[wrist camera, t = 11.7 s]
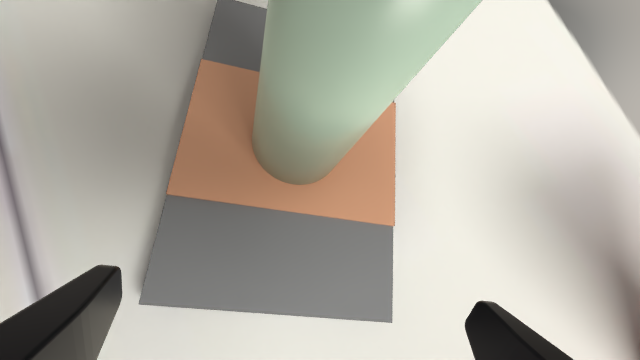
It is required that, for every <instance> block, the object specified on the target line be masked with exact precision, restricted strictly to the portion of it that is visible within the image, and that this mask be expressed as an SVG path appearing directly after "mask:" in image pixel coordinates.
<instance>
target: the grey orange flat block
mask: <svg viewBox="0 0 640 360" xmlns="http://www.w3.org/2000/svg"><path fill="white" fill-rule="evenodd" d="M266 15H267V9H264V8H261V7H257V6H253V5H250V4H246V3H242V2H238V1H235V0H217V4H216V8H215V12H214V16H213V20H212V23H211V27H210V31H209V35H208V39H207V43H206V46H205V50H204V54H203V58H202V59H201V62H200V66H199V70H198V73H197V77H196V81H195V85H194V89H193V92H192V96H191V100H190V104H189V108H188V112H187V115H186V119H185V123H184V127H183V131H182V135H181V138H180V142H179V146H178V150H177V154H176V158H175V161H174V165H173V169H172V173H171V177H170V180H169V184H168V188H167V192H166V194H167V196H166V200H165V204H164V208H163V212H162V216H161V219H160V223H159V227H158V231H157V235H156V239H155V243H154V246H153V250H152V254H151V258H150V262H149V266H148V269H147V273H146V277H145V281H144V285H143V289H142V293H141V296H140V300H139V304H141V305H155V306H168V307H182V308H196V309H210V310H223V311H237V312H251V313H265V314H278V315H292V316H306V317H320V318H333V319H347V320H361V321H374V322H388V323H392V290H393V226H395V109H396V103H394V101H393V102H392V103H391V104H390V105H389V106H388V107H387V108H386V110H385V111H384V112H383V113H382V114H381V115H380V116H379V117H378V119H377V120H376V121H375V122H374V123H373V124H372V125H371V127H370V128H369V129H368V130H367V131H366V132H365V133H364V134H363V136H362V137H361V138H360V139H359V140H358V141H357V142H356V143H355V145H354V146H353V147H352V148H351V149H350V150H349V151H348V153H347V154H346V155H345V156H344V157H343V158H342V159H341V160H340V162H339V163H338V164H337V165H336V166H335V167H334V168H333V169H332V171H331V172H330V173H329V174H328V175H327V176H325V177H324V178H322V179H321V180H319V181H317V182H314V183H310V184H305V185H295V184H289V183H285V182H282V181H280V180H278V179H276V178H274V177H273V176H271V175H270V174H269V173H267V172H266V171H265V170H264V169H263V168H262V166H261V165H260V164H259V162H258V160H257V159H256V157H255V154H254V151H253V147H252V132H253V123H254V115H255V107H256V98H257V90H258V82H259V73H260V65H261V57H262V48H263V40H264V32H265V23H266Z"/></svg>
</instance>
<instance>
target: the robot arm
mask: <svg viewBox="0 0 640 360" xmlns="http://www.w3.org/2000/svg"><path fill="white" fill-rule="evenodd" d="M121 298H122V280H121V270H120V268H119V267H117V266H109V265H98V266H95V267H94V268H92V269H90V270H89V271H87V272H85V273H84V274H82V275H80V276H79V277H77V278H75V279H73V280H72V281H70V282H68V283H67V284H65V285H63V286H62V287H60V288H58V289H57V290H55V291H53V292H52V293H50V294H48V295H47V296H45V297H43V298H42V299H40V300H38V301H37V302H35V303H33V304H32V305H30V306H28V307H27V308H25V309H23V310H22V311H20V312H18V313H17V314H15V315H13V316H12V317H10V318H8V319H7V320H5V321H3V322H2V323H0V360H97V357H98V355H99V352H100V350H101V348H102V345H103V343H104V341H105V338H106V336H107V334H108V331H109V329H110V326H111V324H112V322H113V319H114V317H115V315H116V312H117V310H118V308H119V305H120V302H121ZM465 330H466V333H467V336H468V339H469V342H470V345H471V348H472V351H473V355H474V358H475V360H573V359H572V358H571V357H569V356H568V355H567V354H565V353H564V352H562V351H561V350H560V349H558V348H557V347H555V346H554V345H553V344H551V343H550V342H549V341H547V340H546V339H544V338H543V337H542V336H540V335H539V334H538V333H536V332H535V331H533V330H532V329H531V328H529V327H528V326H527V325H525V324H524V323H522V322H521V321H520V320H518V319H517V318H516V317H514V316H513V315H511V314H510V313H509V312H507V311H506V310H504V309H503V308H502V307H500V306H499V305H498V304H496V303H494V302H490V301H479V302H477V303H476V304H475V306H474V308H473V309H472V311H471V313H470V314H469V316H468V317H467V319H466V321H465Z"/></svg>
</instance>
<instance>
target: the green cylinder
mask: <svg viewBox="0 0 640 360" xmlns="http://www.w3.org/2000/svg"><path fill="white" fill-rule="evenodd" d="M481 1H482V0H268V6H267V15H266V23H265V32H264V40H263V48H262V57H261V65H260V73H259V82H258V90H257V98H256V107H255V115H254V123H253V132H252V147H253V151H254V154H255V157H256V159H257V160H258V162H259V164H260V165H261V166H262V168H263V169H264V170H265V171H266V172H267V173H269V174H270V175H271V176H273V177H274V178H276V179H278V180H280V181H282V182H285V183H289V184H295V185H305V184H310V183H314V182H317V181H319V180H321V179H322V178H324V177H325V176H327V175H328V174H329V173H330V172H331V171H332V169H333V168H334V167H335V166H336V165H337V164H338V163H339V162H340V160H341V159H342V158H343V157H344V156H345V155H346V154H347V153H348V151H349V150H350V149H351V148H352V147H353V146H354V145H355V143H356V142H357V141H358V140H359V139H360V138H361V137H362V136H363V134H364V133H365V132H366V131H367V130H368V129H369V128H370V127H371V125H372V124H373V123H374V122H375V121H376V120H377V119H378V117H379V116H380V115H381V114H382V113H383V112H384V111H385V110H386V108H387V107H388V106H389V105H390V104H391V103H392V102H393V101H394V99H395V98H396V97H397V96H398V95H399V94H400V93H401V92H402V90H403V89H404V88H405V87H406V86H407V85H408V84H409V82H410V81H411V80H412V79H413V78H414V77H415V76H416V75H417V73H418V72H419V71H420V70H421V69H422V68H423V67H424V66H425V64H426V63H427V62H428V61H429V60H430V59H431V58H432V56H433V55H434V54H435V53H436V52H437V51H438V50H439V49H440V47H441V46H442V45H443V44H444V43H445V42H446V41H447V40H448V38H449V37H450V36H451V35H452V34H453V33H454V32H455V31H456V29H457V28H458V27H459V26H460V25H461V24H462V23H463V21H464V20H465V19H466V18H467V17H468V16H469V15H470V14H471V12H472V11H473V10H474V9H475V8H476V7H477V6H478V5H479V3H480V2H481Z"/></svg>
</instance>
